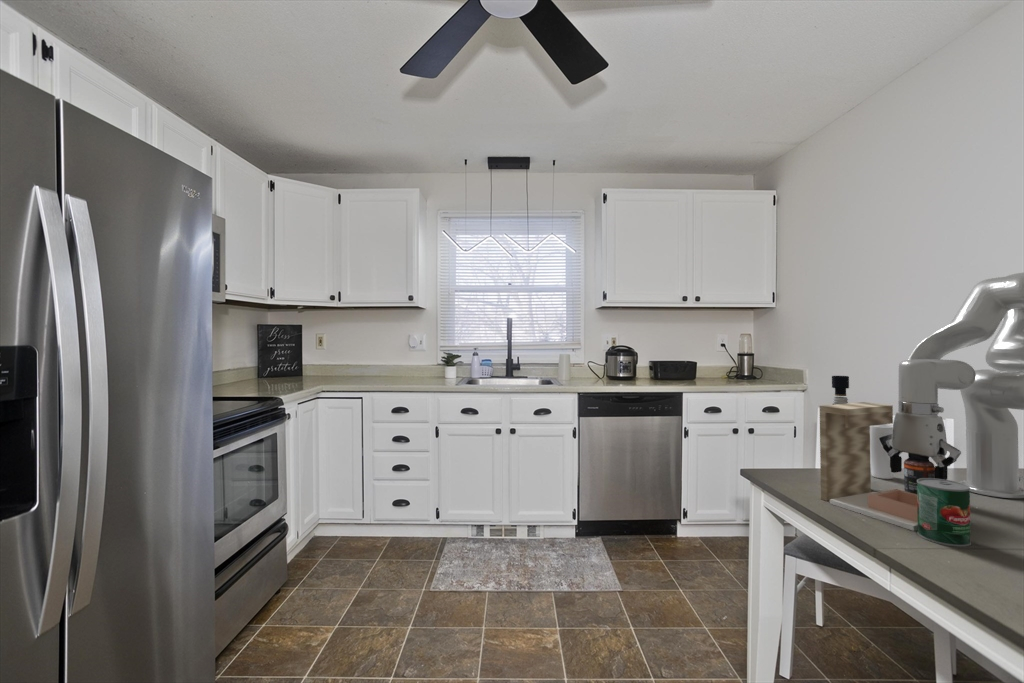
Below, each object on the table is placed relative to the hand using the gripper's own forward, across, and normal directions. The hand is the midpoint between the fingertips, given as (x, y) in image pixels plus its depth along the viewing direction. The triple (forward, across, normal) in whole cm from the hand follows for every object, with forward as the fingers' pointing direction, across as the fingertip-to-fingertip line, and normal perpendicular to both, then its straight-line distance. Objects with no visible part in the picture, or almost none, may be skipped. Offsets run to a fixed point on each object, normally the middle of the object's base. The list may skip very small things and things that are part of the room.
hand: (917, 477), depth 119 cm
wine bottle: (+6, +14, +7) cm, 17 cm away
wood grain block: (+6, +4, +15) cm, 17 cm away
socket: (+6, -4, +16) cm, 18 cm away
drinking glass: (+5, +15, -11) cm, 19 cm away
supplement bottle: (+5, 0, -1) cm, 5 cm away
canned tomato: (+6, -18, +23) cm, 30 cm away
